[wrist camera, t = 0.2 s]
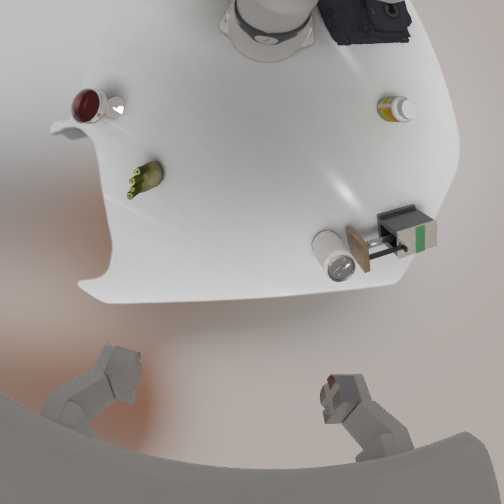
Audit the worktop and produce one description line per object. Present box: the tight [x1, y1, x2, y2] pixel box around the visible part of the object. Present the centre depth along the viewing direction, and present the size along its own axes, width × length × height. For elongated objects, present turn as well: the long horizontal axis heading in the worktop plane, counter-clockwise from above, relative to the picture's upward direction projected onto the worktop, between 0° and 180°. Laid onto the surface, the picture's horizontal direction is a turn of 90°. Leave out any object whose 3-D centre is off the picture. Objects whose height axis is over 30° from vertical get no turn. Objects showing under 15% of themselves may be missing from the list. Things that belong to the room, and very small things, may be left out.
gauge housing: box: [377, 205, 437, 258], centre depth 54 cm, size 10×7×10 cm, turn 107°
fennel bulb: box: [127, 161, 163, 200], centre depth 48 cm, size 6×5×12 cm
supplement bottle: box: [377, 96, 418, 122], centre depth 43 cm, size 5×5×10 cm
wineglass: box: [71, 88, 124, 124], centre depth 41 cm, size 7×7×12 cm
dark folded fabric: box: [318, 0, 412, 45], centre depth 36 cm, size 15×22×5 cm
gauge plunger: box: [348, 228, 408, 273], centre depth 53 cm, size 10×6×10 cm, turn 107°
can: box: [312, 231, 355, 282], centre depth 55 cm, size 6×6×12 cm
